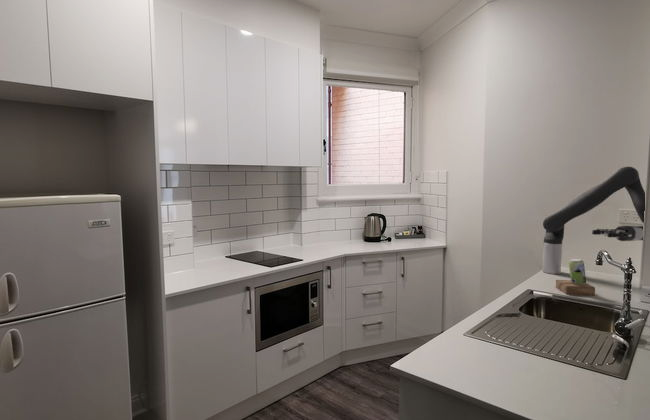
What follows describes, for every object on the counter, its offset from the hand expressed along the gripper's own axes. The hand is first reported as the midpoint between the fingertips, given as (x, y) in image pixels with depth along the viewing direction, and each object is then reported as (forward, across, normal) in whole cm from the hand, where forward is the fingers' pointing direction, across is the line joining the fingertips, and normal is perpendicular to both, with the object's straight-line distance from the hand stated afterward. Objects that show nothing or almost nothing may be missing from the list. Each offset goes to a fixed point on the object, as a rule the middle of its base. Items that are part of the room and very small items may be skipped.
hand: (600, 233), depth 186 cm
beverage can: (+14, +3, +24) cm, 28 cm away
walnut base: (+14, +2, +28) cm, 31 cm away
